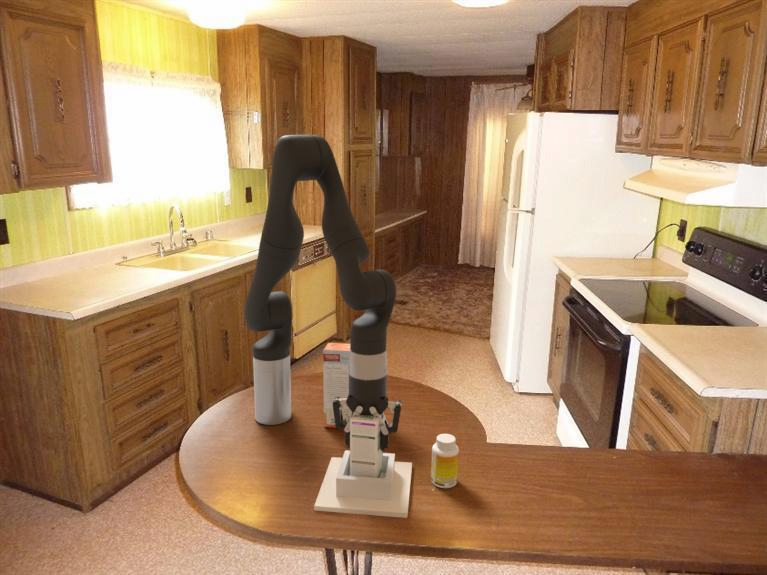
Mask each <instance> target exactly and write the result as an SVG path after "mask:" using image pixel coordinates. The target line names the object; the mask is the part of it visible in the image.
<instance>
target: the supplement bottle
mask: <svg viewBox="0 0 767 575" xmlns="http://www.w3.org/2000/svg"><path fill="white" fill-rule="evenodd" d="M456 442H457V439H456V437H455V436H454V435H453V434H450V433H441V434H438V435H437V436H436V440H435V443H434V444H433V445H432V449H431V466H430V467H431V470H430V471H431V472H430V481H431V483H432V484H433V485H434V486H435V487H438V488H439V489H440V488H441V489H450V488H453V487H455V486H456V485H457V483H458V477H459V476H458V474H459V473H458V472H459V457H460V456H459V455H460V449H459V446H458V445H457V443H456Z"/></svg>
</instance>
